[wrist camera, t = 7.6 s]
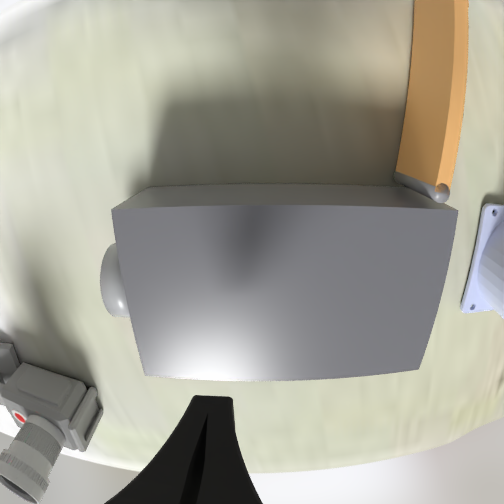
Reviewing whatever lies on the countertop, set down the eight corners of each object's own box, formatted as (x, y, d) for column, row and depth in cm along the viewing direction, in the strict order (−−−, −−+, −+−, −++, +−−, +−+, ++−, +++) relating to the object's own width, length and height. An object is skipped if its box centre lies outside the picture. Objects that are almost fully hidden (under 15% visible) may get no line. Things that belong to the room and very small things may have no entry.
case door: (414, 187, 17) (456, 207, 12) (392, 181, 17) (431, 201, 12) (434, 8, 12) (476, -13, 8) (413, -1, 12) (451, -26, 8)
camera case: (412, 188, 17) (458, 210, 12) (391, 321, 20) (418, 369, 16) (122, 188, 17) (80, 211, 13) (143, 323, 21) (118, 372, 16)
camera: (69, 526, 15) (-51, 455, 15) (109, 428, 26) (-1, 387, 26) (25, 479, 11) (-95, 393, 11) (91, 364, 22) (-27, 324, 22)
